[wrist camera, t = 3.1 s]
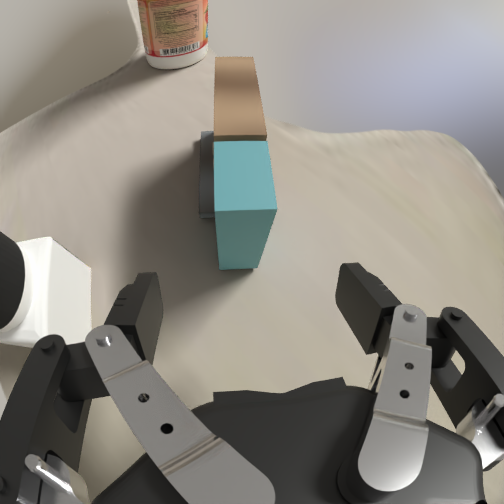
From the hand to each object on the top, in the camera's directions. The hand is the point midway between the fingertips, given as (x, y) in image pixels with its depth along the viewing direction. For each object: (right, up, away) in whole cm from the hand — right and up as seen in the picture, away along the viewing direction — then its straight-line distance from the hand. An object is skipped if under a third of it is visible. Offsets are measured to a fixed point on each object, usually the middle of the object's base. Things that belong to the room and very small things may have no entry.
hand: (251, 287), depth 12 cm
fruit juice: (-11, +31, +21) cm, 39 cm away
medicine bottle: (-17, -4, +8) cm, 19 cm away
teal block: (-1, +2, +11) cm, 11 cm away
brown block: (-2, +9, +14) cm, 17 cm away
